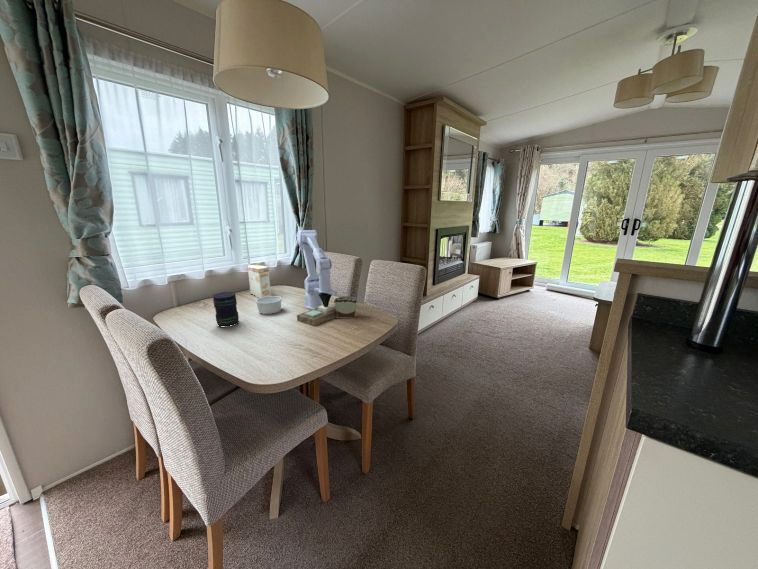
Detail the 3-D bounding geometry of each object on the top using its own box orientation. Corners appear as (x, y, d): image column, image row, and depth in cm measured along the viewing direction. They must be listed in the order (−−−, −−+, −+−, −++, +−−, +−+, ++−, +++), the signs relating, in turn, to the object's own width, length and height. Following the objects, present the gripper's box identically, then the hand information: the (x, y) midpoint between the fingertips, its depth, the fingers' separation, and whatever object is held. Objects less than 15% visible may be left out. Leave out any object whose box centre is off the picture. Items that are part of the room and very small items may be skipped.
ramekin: (277, 315, 155) (276, 303, 153) (252, 315, 155) (251, 302, 154) (285, 307, 168) (284, 295, 166) (263, 307, 168) (261, 295, 166)
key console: (297, 320, 148) (296, 315, 147) (325, 309, 163) (325, 304, 163) (313, 326, 141) (313, 320, 140) (341, 314, 157) (341, 308, 156)
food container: (359, 314, 157) (359, 296, 154) (357, 318, 151) (357, 299, 148) (337, 313, 158) (336, 295, 156) (334, 317, 152) (333, 299, 150)
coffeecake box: (271, 296, 188) (268, 266, 184) (261, 299, 183) (257, 268, 178) (260, 292, 198) (257, 264, 193) (250, 294, 193) (246, 265, 188)
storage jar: (234, 318, 151) (231, 290, 147) (242, 323, 144) (239, 294, 140) (213, 323, 144) (209, 294, 140) (221, 329, 137) (216, 298, 133)
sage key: (305, 317, 147) (304, 313, 147) (313, 314, 152) (313, 310, 152) (313, 320, 144) (312, 315, 144) (322, 316, 149) (321, 312, 148)
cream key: (318, 311, 154) (317, 306, 154) (326, 308, 159) (325, 304, 159) (326, 313, 151) (325, 309, 150) (334, 310, 156) (334, 306, 155)
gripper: (309, 281, 152) (310, 306, 155) (329, 285, 144) (330, 311, 147) (319, 278, 158) (320, 302, 161) (339, 282, 150) (340, 307, 153)
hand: (326, 306), depth 154 cm, fingers closed
